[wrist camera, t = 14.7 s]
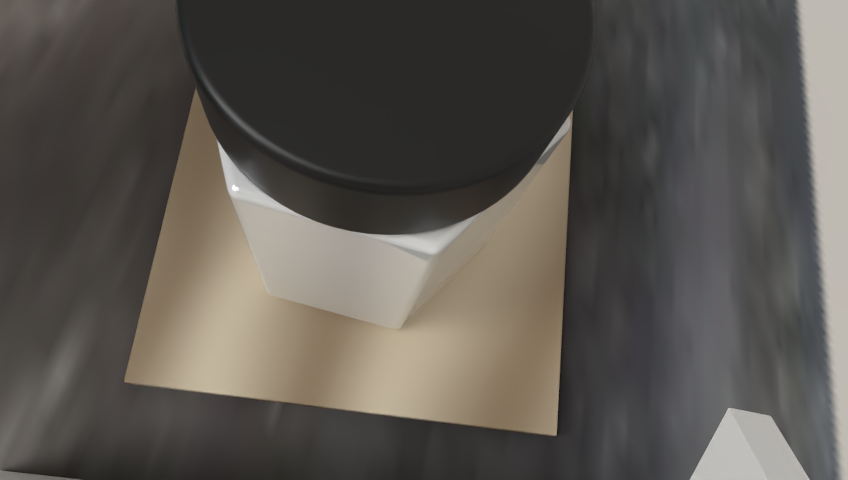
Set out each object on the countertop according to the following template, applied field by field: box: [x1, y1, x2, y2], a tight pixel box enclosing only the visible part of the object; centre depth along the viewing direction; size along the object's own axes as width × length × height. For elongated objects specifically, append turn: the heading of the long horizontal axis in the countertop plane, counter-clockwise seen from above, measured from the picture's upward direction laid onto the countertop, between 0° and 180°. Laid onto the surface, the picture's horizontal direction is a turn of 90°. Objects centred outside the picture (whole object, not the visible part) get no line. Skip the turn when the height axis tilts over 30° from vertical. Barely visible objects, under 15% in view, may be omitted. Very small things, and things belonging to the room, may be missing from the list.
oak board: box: [124, 88, 573, 436], centre depth 25 cm, size 14×14×1 cm
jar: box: [175, 0, 596, 330], centre depth 19 cm, size 9×8×12 cm
